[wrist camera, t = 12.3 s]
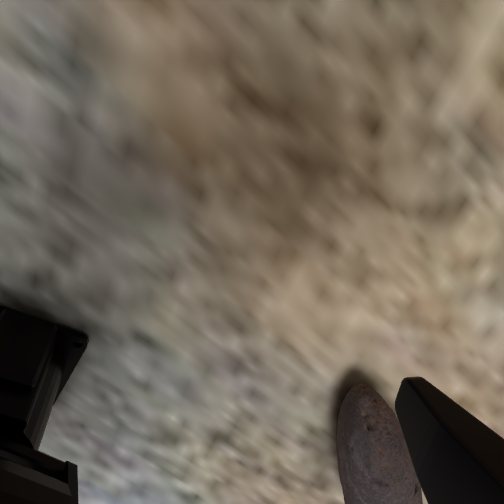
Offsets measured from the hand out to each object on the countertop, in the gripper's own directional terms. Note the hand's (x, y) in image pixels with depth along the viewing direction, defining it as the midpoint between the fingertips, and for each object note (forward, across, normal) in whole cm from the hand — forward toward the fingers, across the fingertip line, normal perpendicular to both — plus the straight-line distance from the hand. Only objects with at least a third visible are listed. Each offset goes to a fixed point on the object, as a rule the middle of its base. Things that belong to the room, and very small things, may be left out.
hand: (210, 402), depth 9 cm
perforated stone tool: (+13, -12, +20) cm, 27 cm away
